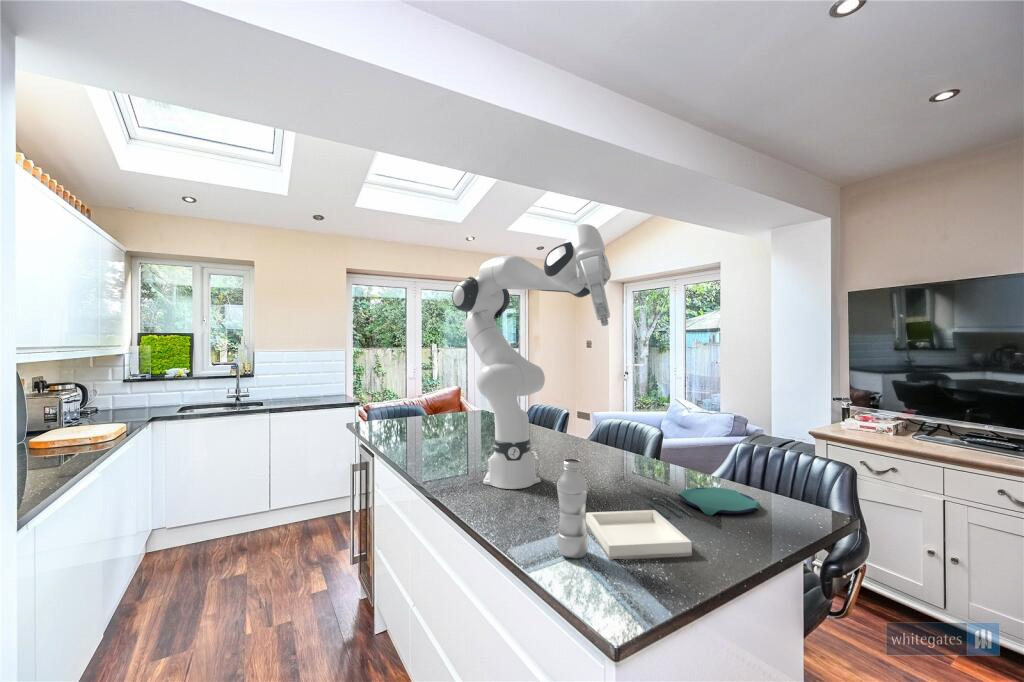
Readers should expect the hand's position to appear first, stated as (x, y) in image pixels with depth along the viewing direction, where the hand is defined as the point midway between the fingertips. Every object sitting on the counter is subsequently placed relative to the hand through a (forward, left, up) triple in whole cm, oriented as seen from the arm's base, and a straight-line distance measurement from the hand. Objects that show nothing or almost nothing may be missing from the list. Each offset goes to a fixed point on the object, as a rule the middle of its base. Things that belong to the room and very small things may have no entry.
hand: (602, 314), depth 107 cm
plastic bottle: (+14, -11, -53) cm, 56 cm away
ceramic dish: (+8, +5, -53) cm, 53 cm away
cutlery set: (-11, +32, -53) cm, 63 cm away
